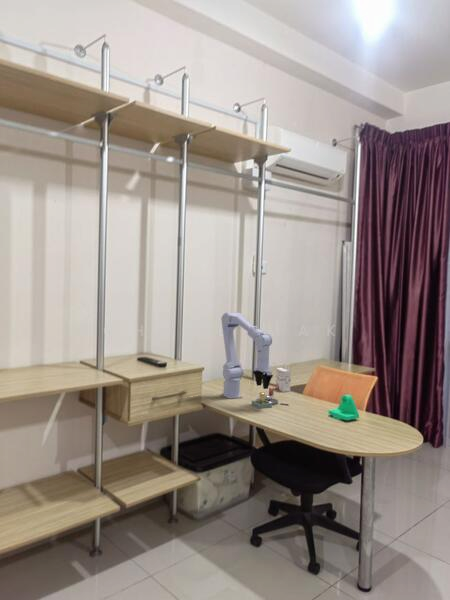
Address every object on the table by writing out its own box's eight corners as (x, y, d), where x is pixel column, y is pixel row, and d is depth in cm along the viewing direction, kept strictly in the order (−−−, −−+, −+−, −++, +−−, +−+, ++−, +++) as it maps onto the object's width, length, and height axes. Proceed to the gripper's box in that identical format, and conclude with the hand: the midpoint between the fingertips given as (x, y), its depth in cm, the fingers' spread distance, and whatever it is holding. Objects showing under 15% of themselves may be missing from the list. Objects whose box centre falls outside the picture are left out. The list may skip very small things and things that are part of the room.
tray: (251, 404, 239) (252, 400, 239) (264, 403, 242) (265, 399, 241) (258, 408, 232) (258, 404, 232) (271, 407, 235) (271, 403, 235)
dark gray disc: (252, 400, 246) (252, 398, 246) (271, 398, 251) (271, 396, 251) (262, 406, 236) (262, 404, 236) (281, 404, 241) (282, 402, 241)
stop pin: (258, 404, 238) (259, 392, 238) (264, 404, 238) (264, 392, 238) (259, 405, 235) (260, 393, 235) (265, 405, 236) (265, 393, 235)
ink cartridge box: (275, 388, 274) (276, 362, 273) (283, 387, 276) (283, 362, 275) (282, 392, 266) (283, 365, 265) (290, 391, 268) (291, 365, 267)
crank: (269, 401, 241) (269, 392, 241) (262, 400, 242) (262, 391, 242) (275, 396, 251) (275, 388, 250) (268, 395, 252) (268, 387, 252)
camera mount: (327, 415, 224) (328, 393, 223) (339, 413, 228) (340, 392, 227) (346, 422, 213) (347, 399, 213) (358, 420, 217) (359, 397, 217)
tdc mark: (280, 404, 240) (280, 403, 240) (280, 403, 241) (280, 403, 241) (288, 405, 239) (288, 404, 239) (288, 404, 240) (288, 404, 240)
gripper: (249, 357, 241) (248, 384, 241) (262, 362, 227) (261, 391, 228) (261, 356, 243) (261, 383, 244) (275, 361, 230) (274, 389, 231)
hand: (262, 387), depth 236 cm, fingers open, 7 cm apart
